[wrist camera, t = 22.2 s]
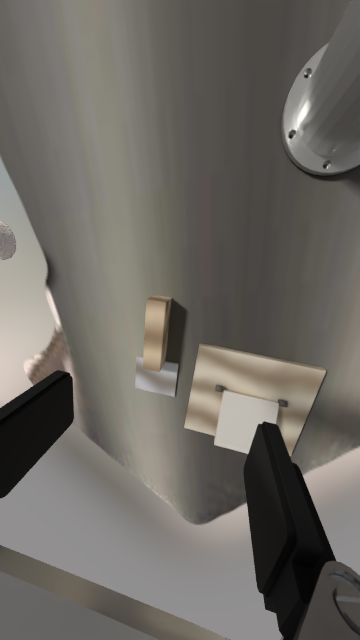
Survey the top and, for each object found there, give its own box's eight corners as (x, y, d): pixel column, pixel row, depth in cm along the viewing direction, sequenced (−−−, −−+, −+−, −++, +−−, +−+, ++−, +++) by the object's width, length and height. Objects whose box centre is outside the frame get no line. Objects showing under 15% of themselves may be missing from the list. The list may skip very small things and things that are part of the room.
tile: (214, 444, 33) (213, 440, 34) (270, 459, 32) (267, 455, 33) (224, 390, 33) (223, 388, 35) (279, 403, 32) (276, 401, 33)
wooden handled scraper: (140, 293, 34) (131, 297, 30) (186, 299, 33) (182, 304, 29) (136, 386, 39) (127, 399, 36) (174, 394, 38) (170, 409, 34)
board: (200, 342, 34) (198, 348, 32) (323, 367, 31) (330, 375, 29) (185, 423, 40) (183, 432, 37) (288, 451, 37) (293, 462, 35)
